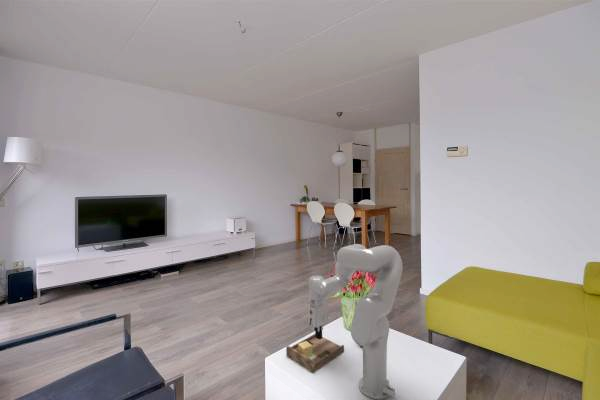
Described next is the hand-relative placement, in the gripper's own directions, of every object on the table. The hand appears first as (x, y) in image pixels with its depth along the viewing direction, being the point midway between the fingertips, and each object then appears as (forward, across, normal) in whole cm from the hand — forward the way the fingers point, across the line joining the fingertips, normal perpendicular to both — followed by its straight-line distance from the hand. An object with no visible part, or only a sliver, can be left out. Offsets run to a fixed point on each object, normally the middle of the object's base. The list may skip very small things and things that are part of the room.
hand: (318, 338), depth 139 cm
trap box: (+8, -1, +2) cm, 8 cm away
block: (+6, -8, +2) cm, 10 cm away
